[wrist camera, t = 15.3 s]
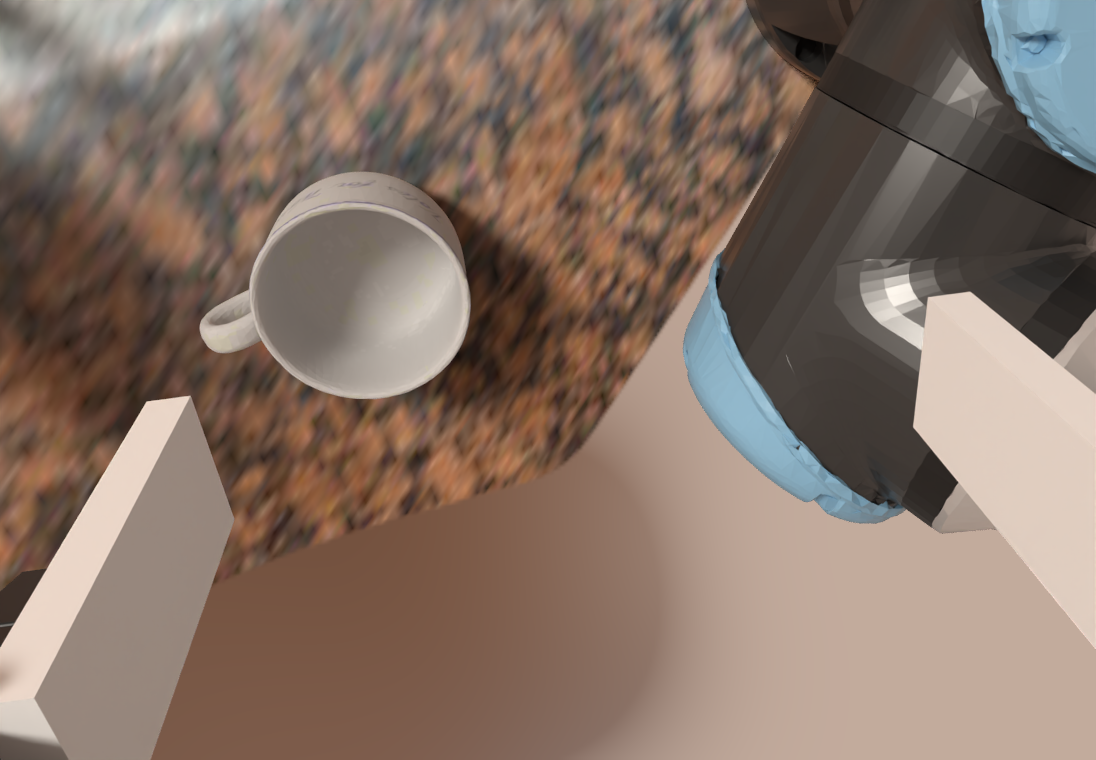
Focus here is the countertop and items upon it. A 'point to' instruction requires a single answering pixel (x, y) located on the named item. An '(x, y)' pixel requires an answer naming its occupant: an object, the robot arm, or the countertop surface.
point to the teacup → (354, 289)
